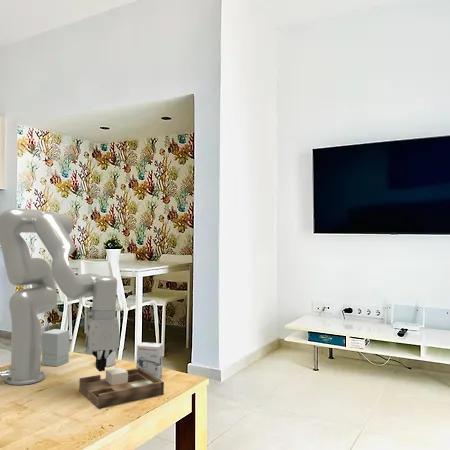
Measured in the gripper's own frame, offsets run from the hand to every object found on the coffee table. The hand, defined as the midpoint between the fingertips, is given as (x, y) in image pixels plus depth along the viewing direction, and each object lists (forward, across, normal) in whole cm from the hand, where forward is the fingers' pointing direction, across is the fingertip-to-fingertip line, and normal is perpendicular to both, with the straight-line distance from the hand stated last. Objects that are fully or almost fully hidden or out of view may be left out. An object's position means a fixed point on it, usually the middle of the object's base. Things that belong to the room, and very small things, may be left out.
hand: (100, 370), depth 147 cm
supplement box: (+8, -3, +39) cm, 40 cm away
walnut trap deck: (+7, +5, -5) cm, 10 cm away
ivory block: (+4, +5, -1) cm, 7 cm away
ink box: (+7, +20, +4) cm, 22 cm away
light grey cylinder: (+8, +13, +27) cm, 31 cm away
